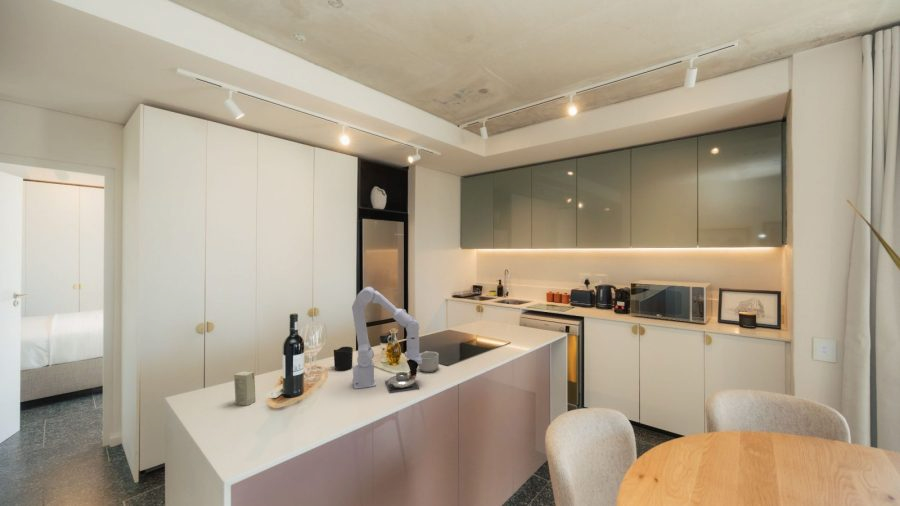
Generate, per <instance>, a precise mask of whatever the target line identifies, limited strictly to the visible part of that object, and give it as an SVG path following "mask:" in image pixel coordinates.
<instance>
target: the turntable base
mask: <svg viewBox="0 0 900 506" xmlns="http://www.w3.org/2000/svg"><path fill="white" fill-rule="evenodd" d="M384 383H385V386H386V388H387V391H388V393H389V394H394V393H401V392H409V391H417V390H420V387H419V384H418V383H417V381H415V383H414V384H413V385H411V386H408V387H403V388H396V387H391V386H389V385H388V379H386V380H384Z"/></svg>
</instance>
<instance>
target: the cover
mask: <svg viewBox="0 0 900 506" xmlns="http://www.w3.org/2000/svg"><path fill="white" fill-rule="evenodd" d="M407 375H408V372H405V371H401V372H397V373H396V375H395V376H396V381H399V382H404V381H407Z"/></svg>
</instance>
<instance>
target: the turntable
mask: <svg viewBox="0 0 900 506" xmlns="http://www.w3.org/2000/svg"><path fill="white" fill-rule="evenodd" d="M416 378H417V374H416V375H415V376H411V373H410V370H409V374H407V381H404V382H399V381H396V375H393V376H391V377H389V378H388V379H387V380H388V385H389V386H391V387H396V388H403V387H408V386H411V385H413V384H414V383H415V382H416Z"/></svg>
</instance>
